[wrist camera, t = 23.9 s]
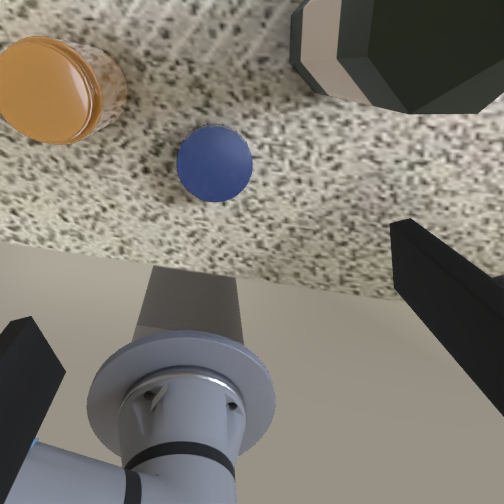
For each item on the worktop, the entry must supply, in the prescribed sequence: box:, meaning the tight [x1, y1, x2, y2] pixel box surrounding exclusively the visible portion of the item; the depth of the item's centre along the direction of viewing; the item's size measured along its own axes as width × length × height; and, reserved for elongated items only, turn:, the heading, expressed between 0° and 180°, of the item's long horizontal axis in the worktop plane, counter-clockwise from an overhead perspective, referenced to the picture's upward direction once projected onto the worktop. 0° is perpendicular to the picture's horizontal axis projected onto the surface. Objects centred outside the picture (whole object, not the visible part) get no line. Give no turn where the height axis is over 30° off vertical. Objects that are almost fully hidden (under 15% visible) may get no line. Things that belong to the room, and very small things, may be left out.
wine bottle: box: [289, 0, 504, 114], centre depth 16 cm, size 8×8×30 cm
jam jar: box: [0, 36, 128, 145], centre depth 25 cm, size 6×6×9 cm
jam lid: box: [177, 124, 253, 202], centre depth 32 cm, size 6×6×2 cm
